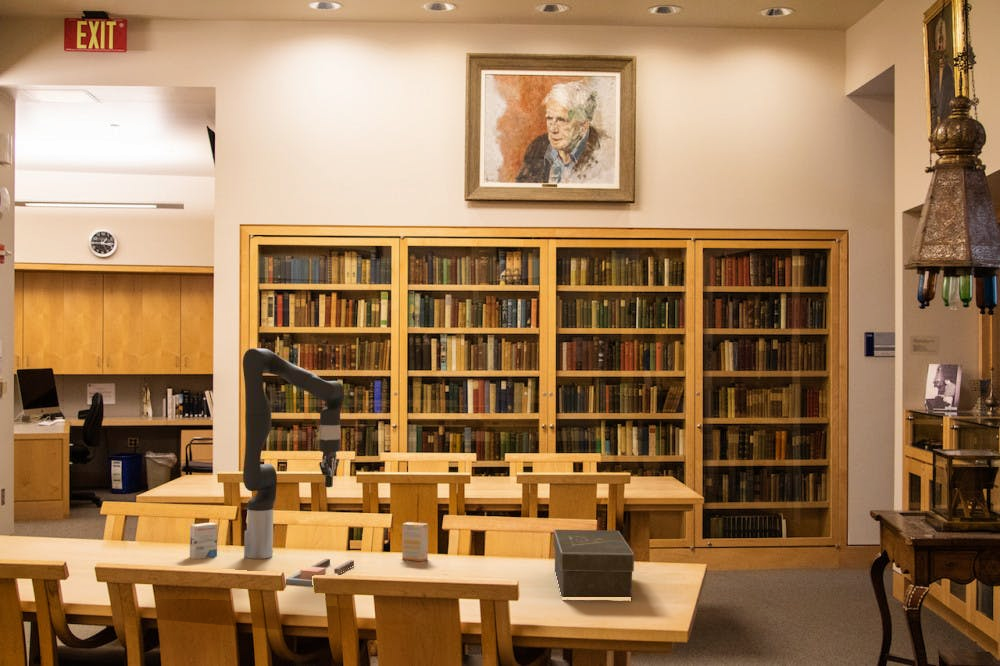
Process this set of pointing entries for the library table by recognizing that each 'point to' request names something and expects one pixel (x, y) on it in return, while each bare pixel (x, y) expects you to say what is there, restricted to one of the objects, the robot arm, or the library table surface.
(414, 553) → the supplement box
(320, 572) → the terracotta block
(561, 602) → the library table surface
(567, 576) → the box
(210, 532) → the ink box
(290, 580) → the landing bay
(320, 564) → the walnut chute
